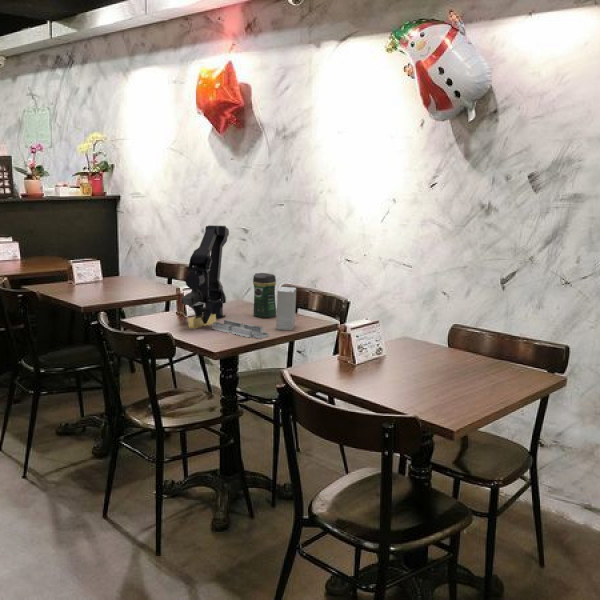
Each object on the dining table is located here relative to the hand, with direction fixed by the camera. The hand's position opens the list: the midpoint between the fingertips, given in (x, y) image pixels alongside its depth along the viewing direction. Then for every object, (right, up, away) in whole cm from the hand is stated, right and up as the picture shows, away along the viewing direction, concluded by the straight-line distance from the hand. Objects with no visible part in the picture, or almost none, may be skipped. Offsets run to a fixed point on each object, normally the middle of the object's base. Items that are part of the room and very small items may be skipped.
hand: (202, 322), depth 263 cm
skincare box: (+34, -2, -3) cm, 34 cm away
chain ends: (+17, -3, -11) cm, 20 cm away
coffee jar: (+24, +2, +18) cm, 30 cm away
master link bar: (0, -1, 0) cm, 1 cm away
